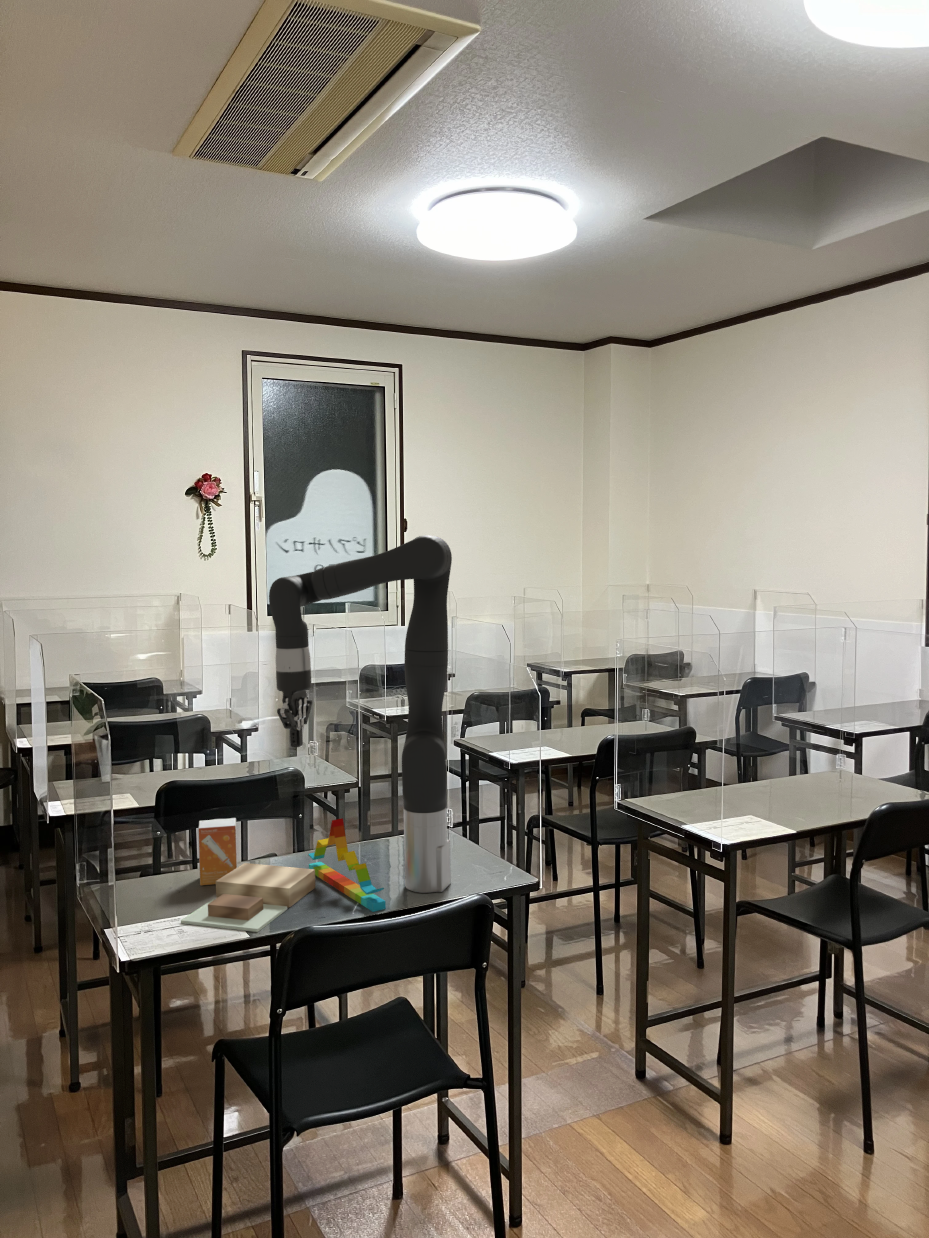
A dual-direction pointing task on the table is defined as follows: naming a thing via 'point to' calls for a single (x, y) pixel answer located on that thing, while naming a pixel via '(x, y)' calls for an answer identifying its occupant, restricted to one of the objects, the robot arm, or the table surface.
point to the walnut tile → (235, 907)
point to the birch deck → (268, 883)
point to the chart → (340, 882)
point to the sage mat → (252, 925)
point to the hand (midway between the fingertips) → (296, 746)
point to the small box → (217, 849)
